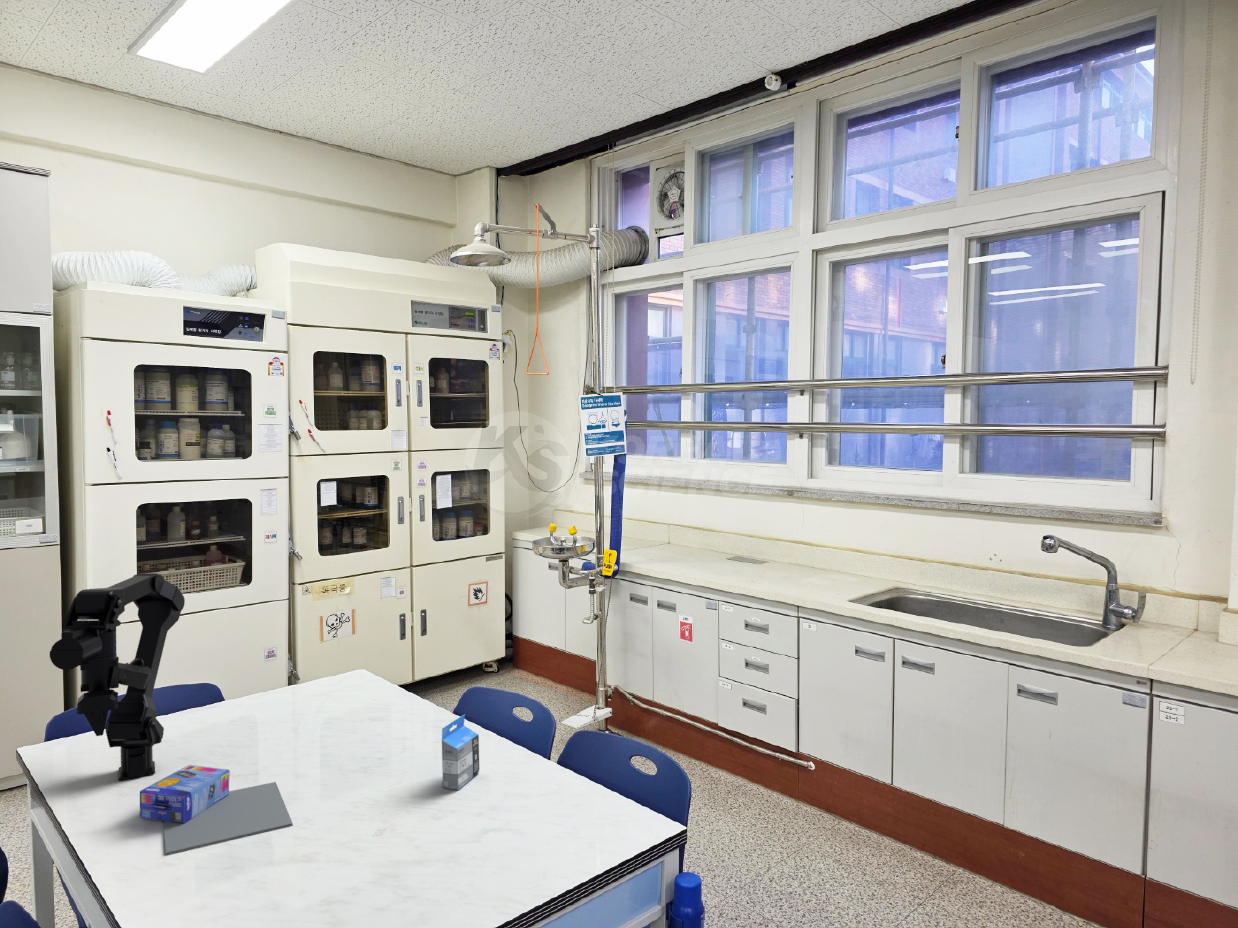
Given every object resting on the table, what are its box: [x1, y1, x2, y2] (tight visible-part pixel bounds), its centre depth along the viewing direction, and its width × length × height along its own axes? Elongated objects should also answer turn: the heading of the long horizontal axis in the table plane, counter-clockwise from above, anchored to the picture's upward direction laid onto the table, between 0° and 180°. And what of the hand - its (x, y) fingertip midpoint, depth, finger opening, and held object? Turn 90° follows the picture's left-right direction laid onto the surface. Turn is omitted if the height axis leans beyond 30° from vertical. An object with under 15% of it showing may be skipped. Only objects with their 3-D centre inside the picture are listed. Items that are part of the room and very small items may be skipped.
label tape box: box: [441, 713, 480, 791], centre depth 163 cm, size 9×4×12 cm, turn 161°
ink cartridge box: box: [139, 764, 231, 824], centre depth 148 cm, size 10×6×14 cm
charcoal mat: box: [162, 781, 293, 856], centre depth 147 cm, size 20×20×1 cm
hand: (99, 735), depth 151 cm, fingers closed
